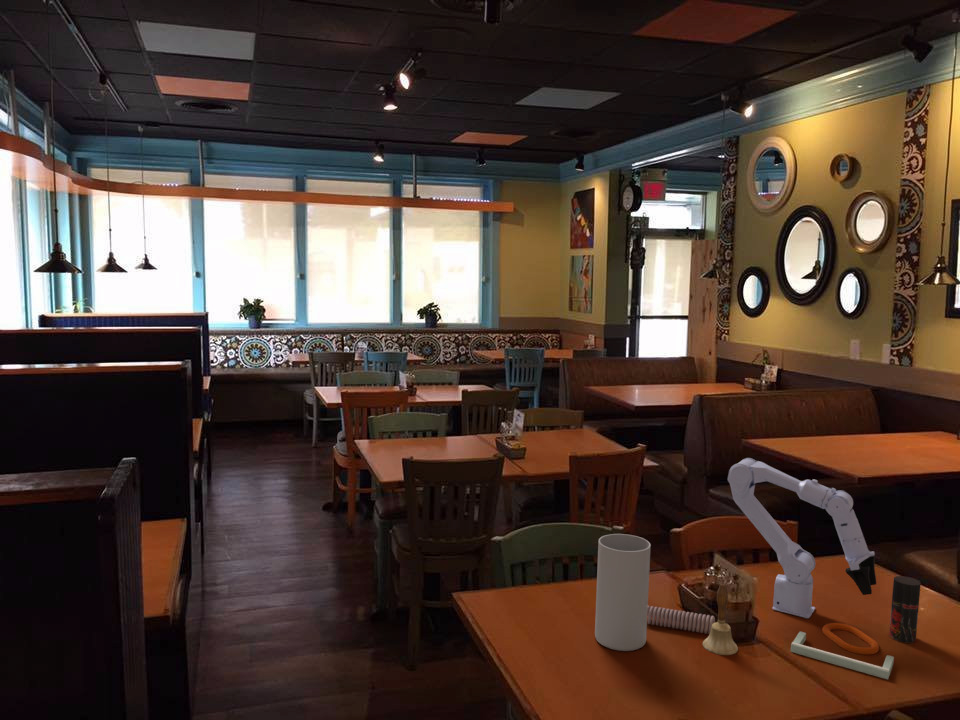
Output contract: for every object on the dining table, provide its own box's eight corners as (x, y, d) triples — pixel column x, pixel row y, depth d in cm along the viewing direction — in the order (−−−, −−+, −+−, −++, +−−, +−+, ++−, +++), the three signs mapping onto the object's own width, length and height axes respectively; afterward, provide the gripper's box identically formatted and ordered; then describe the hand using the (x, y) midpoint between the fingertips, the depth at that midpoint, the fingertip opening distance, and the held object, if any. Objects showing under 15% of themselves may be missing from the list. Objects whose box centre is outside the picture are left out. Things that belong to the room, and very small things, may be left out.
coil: (716, 613, 193) (645, 602, 199) (715, 619, 189) (643, 607, 195) (715, 631, 193) (644, 620, 199) (714, 638, 189) (642, 625, 195)
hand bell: (720, 658, 179) (723, 593, 177) (695, 643, 186) (698, 580, 185) (745, 651, 183) (749, 587, 181) (720, 636, 190) (723, 575, 188)
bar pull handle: (790, 651, 183) (791, 643, 183) (799, 638, 190) (799, 630, 190) (888, 679, 171) (888, 671, 170) (893, 664, 178) (893, 656, 178)
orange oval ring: (848, 620, 198) (888, 648, 183) (847, 627, 198) (888, 654, 183) (814, 622, 196) (852, 650, 181) (814, 629, 196) (852, 657, 181)
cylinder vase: (650, 635, 190) (655, 539, 187) (639, 657, 179) (644, 555, 176) (602, 624, 195) (606, 531, 192) (588, 645, 184) (592, 546, 181)
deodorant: (919, 644, 188) (924, 586, 187) (893, 641, 189) (898, 583, 188) (910, 633, 194) (915, 577, 192) (885, 630, 195) (890, 575, 193)
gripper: (863, 543, 189) (882, 596, 187) (872, 528, 200) (890, 578, 199) (834, 547, 193) (852, 600, 191) (844, 532, 204) (862, 582, 203)
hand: (869, 589), depth 195 cm, fingers open, 7 cm apart
